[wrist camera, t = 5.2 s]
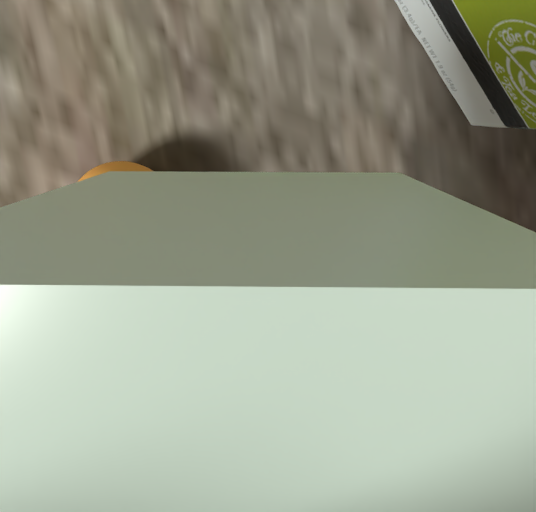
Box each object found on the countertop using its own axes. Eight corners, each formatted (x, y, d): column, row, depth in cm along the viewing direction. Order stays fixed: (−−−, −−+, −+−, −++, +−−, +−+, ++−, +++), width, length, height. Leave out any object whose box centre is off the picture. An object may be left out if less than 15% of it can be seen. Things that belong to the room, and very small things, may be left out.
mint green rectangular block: (109, 171, 9) (-226, 281, 3) (400, 172, 9) (666, 290, 3) (153, 538, 13) (44, 927, 7) (360, 541, 13) (441, 936, 7)
